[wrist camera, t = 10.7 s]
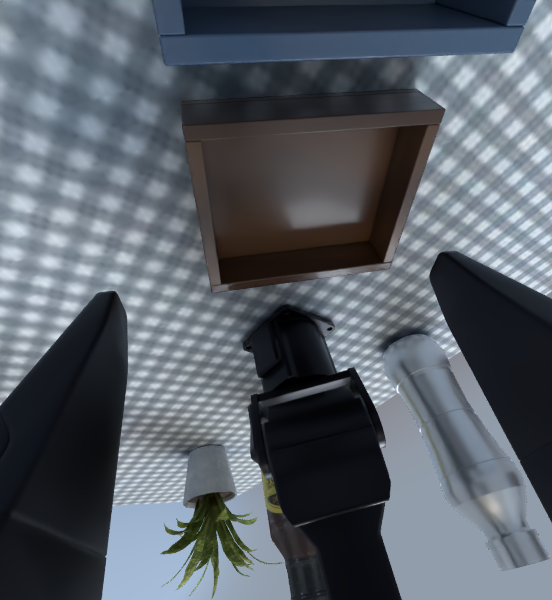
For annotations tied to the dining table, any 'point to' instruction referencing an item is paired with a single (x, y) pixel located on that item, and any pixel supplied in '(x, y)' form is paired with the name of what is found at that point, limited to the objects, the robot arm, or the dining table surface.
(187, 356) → the dining table surface
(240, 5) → the tote
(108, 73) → the dining table surface
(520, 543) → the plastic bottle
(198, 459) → the house plant
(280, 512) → the sauce bottle
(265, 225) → the brown wooden tray
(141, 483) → the dining table surface
